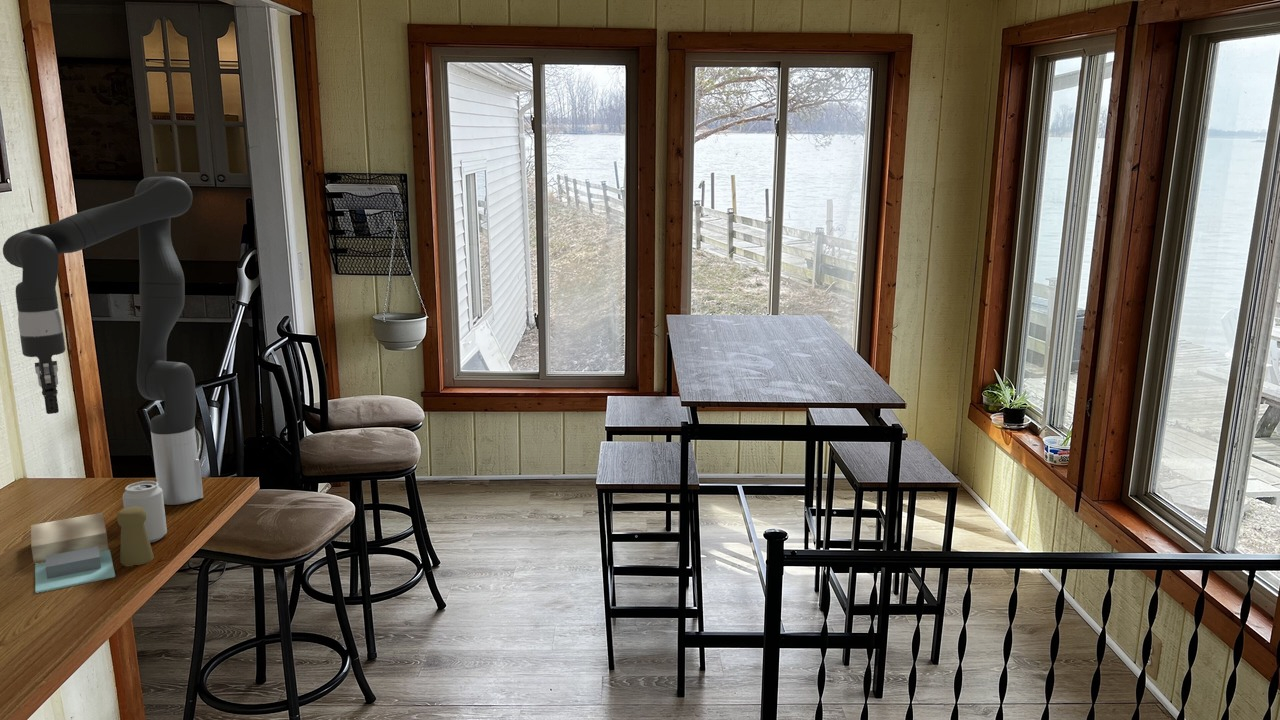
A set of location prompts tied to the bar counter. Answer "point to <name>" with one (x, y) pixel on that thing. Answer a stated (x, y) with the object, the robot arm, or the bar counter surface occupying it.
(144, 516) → the cork
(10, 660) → the bar counter surface
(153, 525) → the can
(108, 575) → the mat
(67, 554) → the grey rectangular block
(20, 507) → the bar counter surface
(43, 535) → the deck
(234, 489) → the bar counter surface
